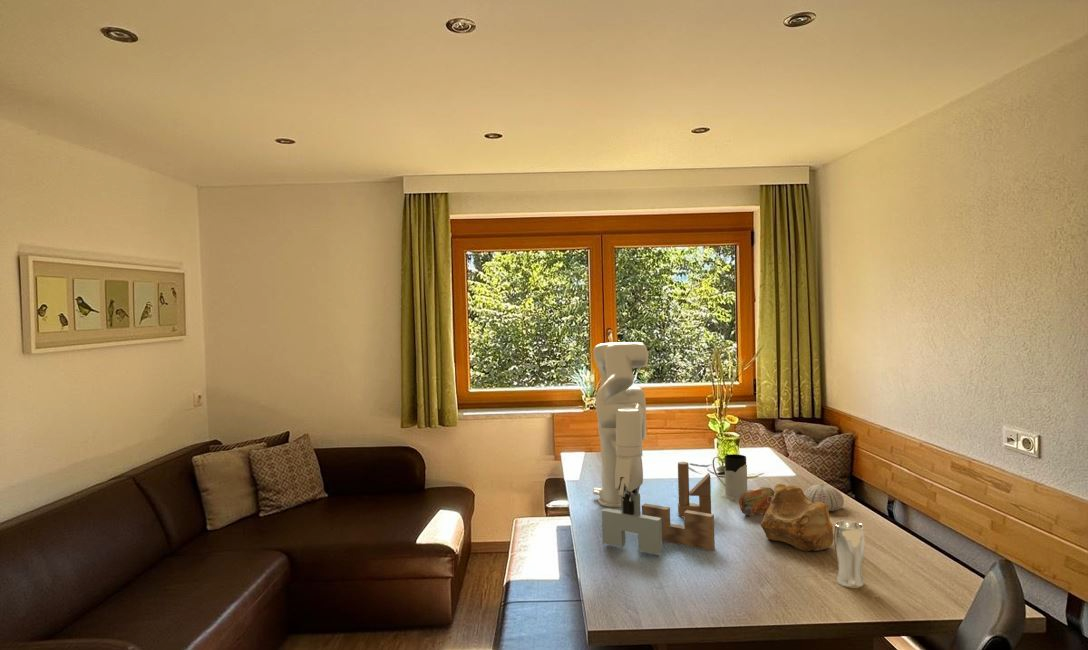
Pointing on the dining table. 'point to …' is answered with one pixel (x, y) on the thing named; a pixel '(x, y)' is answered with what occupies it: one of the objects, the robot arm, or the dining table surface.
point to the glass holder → (734, 476)
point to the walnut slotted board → (685, 527)
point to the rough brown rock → (797, 520)
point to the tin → (756, 501)
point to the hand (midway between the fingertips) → (630, 511)
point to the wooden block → (693, 492)
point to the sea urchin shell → (825, 496)
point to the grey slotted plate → (632, 527)
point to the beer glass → (849, 552)
